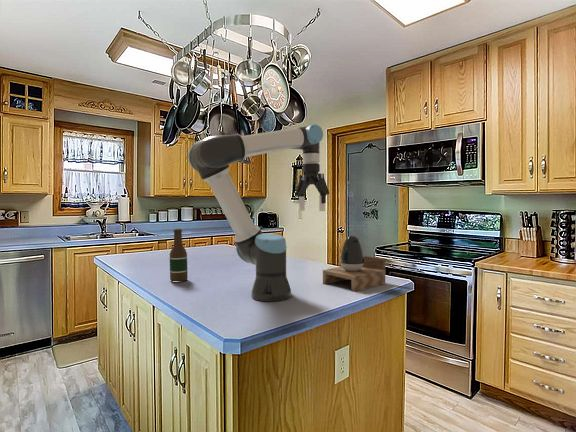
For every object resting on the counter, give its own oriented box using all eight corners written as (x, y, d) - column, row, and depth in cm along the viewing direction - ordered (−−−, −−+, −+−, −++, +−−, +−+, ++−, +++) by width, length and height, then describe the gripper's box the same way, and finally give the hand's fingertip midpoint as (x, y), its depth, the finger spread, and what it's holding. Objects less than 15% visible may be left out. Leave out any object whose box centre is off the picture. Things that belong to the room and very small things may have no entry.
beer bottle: (188, 281, 163) (187, 229, 162) (170, 283, 160) (169, 230, 159) (186, 278, 170) (185, 228, 169) (169, 279, 167) (168, 228, 166)
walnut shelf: (354, 291, 142) (354, 264, 141) (322, 283, 156) (322, 258, 155) (385, 283, 154) (385, 258, 153) (353, 277, 168) (353, 253, 167)
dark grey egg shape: (346, 273, 147) (346, 237, 147) (336, 269, 157) (336, 234, 157) (368, 271, 150) (368, 236, 149) (357, 267, 160) (357, 233, 159)
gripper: (337, 161, 153) (337, 210, 154) (299, 166, 172) (300, 210, 173) (324, 160, 148) (324, 211, 149) (287, 165, 168) (288, 210, 169)
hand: (311, 210), depth 161 cm, fingers open, 13 cm apart
